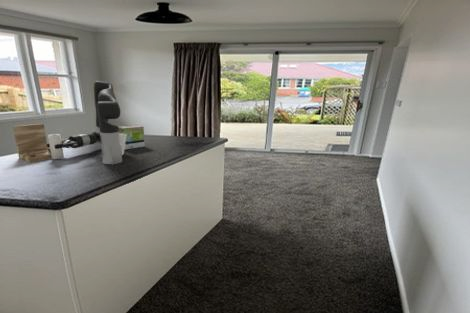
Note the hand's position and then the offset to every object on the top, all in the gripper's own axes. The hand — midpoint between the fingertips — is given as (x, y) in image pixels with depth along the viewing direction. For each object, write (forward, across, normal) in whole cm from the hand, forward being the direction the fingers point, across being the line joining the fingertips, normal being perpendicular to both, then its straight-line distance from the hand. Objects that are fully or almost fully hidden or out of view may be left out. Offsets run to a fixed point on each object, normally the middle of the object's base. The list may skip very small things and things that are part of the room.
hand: (51, 146), depth 135 cm
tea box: (-45, +13, +8) cm, 48 cm away
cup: (-26, +20, +8) cm, 34 cm away
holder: (-1, -12, +8) cm, 15 cm away
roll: (-3, 0, +7) cm, 7 cm away
